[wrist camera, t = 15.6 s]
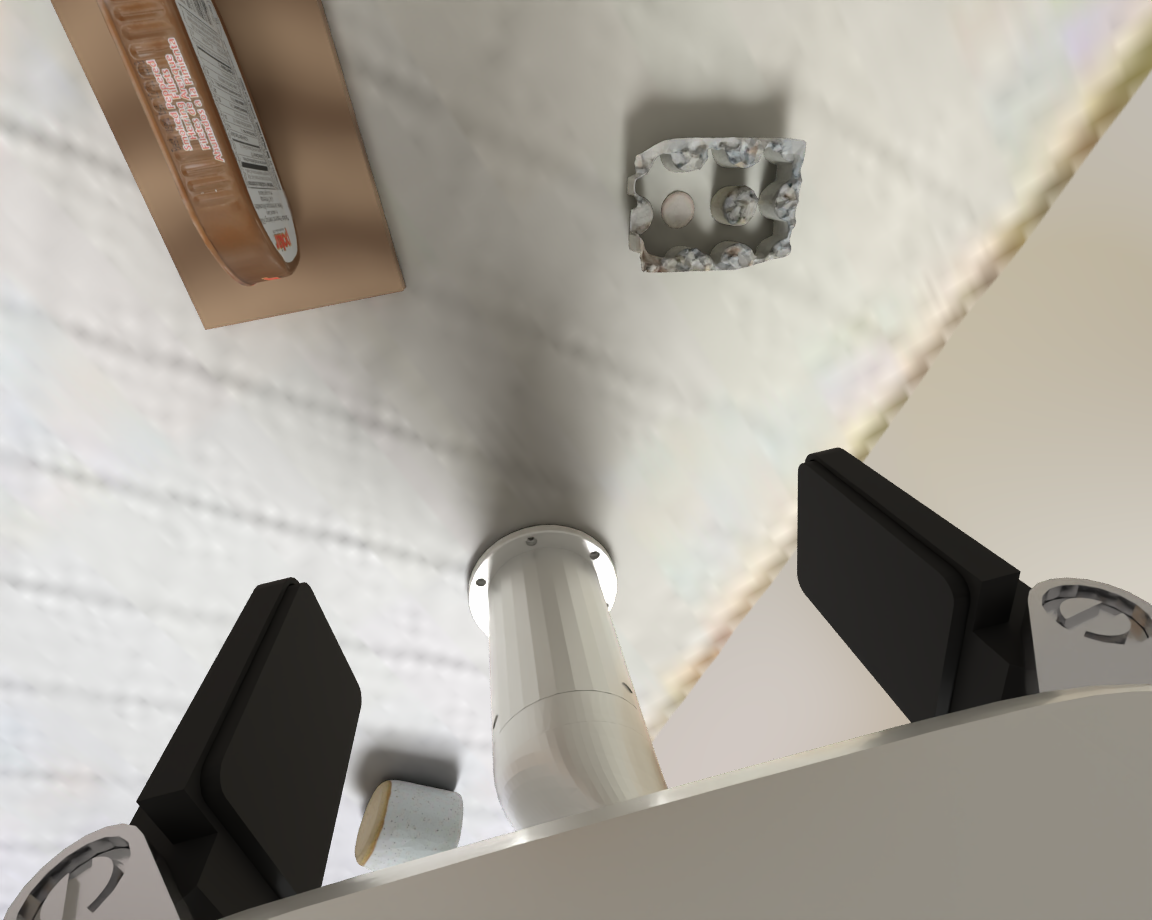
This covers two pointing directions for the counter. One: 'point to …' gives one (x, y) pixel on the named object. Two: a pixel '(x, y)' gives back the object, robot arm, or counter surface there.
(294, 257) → the tin
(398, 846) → the ceramic mug
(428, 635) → the counter surface
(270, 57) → the walnut board
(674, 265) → the egg carton
